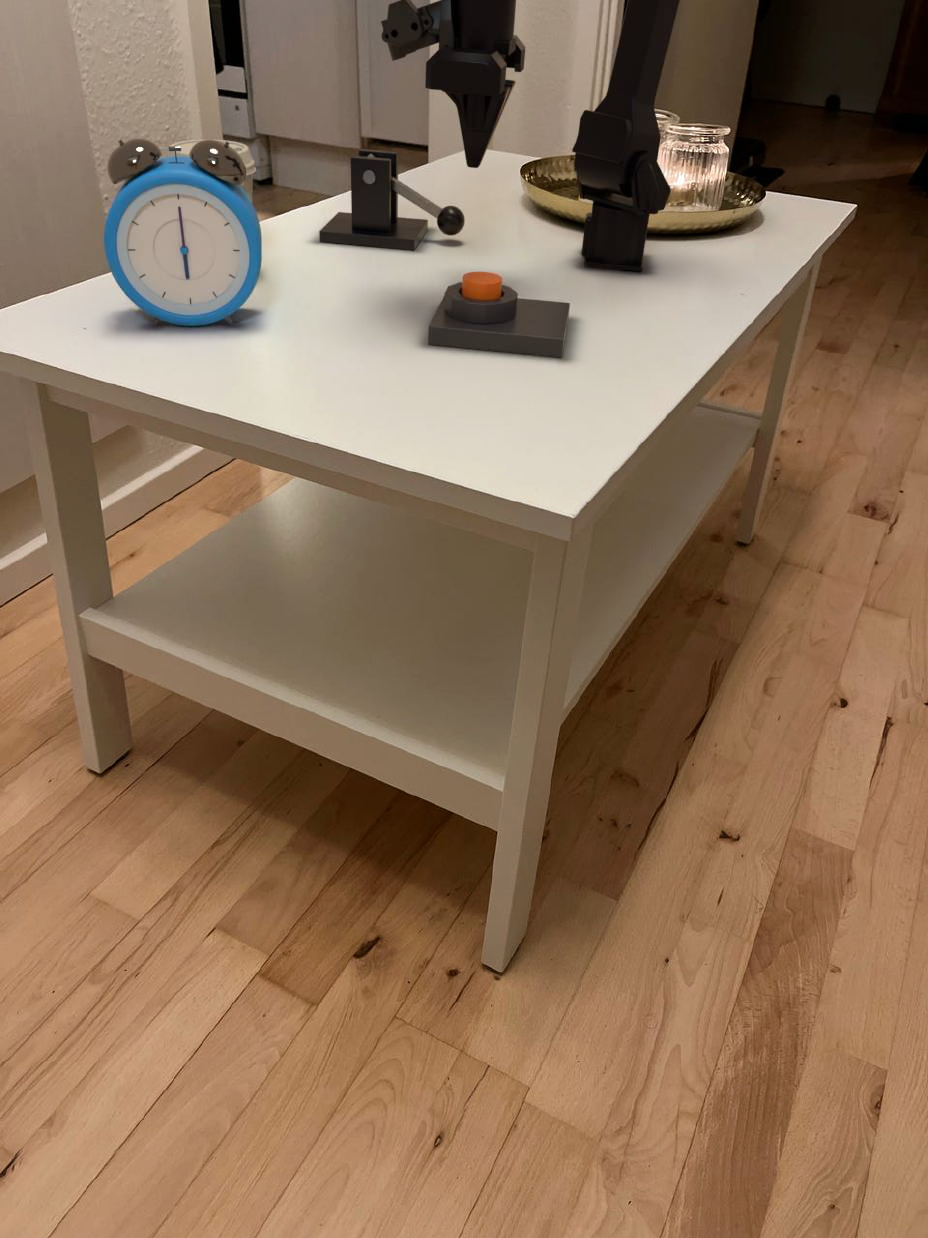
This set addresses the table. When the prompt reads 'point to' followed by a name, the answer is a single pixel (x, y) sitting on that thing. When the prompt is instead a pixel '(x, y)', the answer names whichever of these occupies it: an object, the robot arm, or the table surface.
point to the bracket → (374, 207)
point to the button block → (500, 323)
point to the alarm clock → (182, 231)
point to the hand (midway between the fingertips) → (473, 166)
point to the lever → (432, 208)
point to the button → (481, 285)
